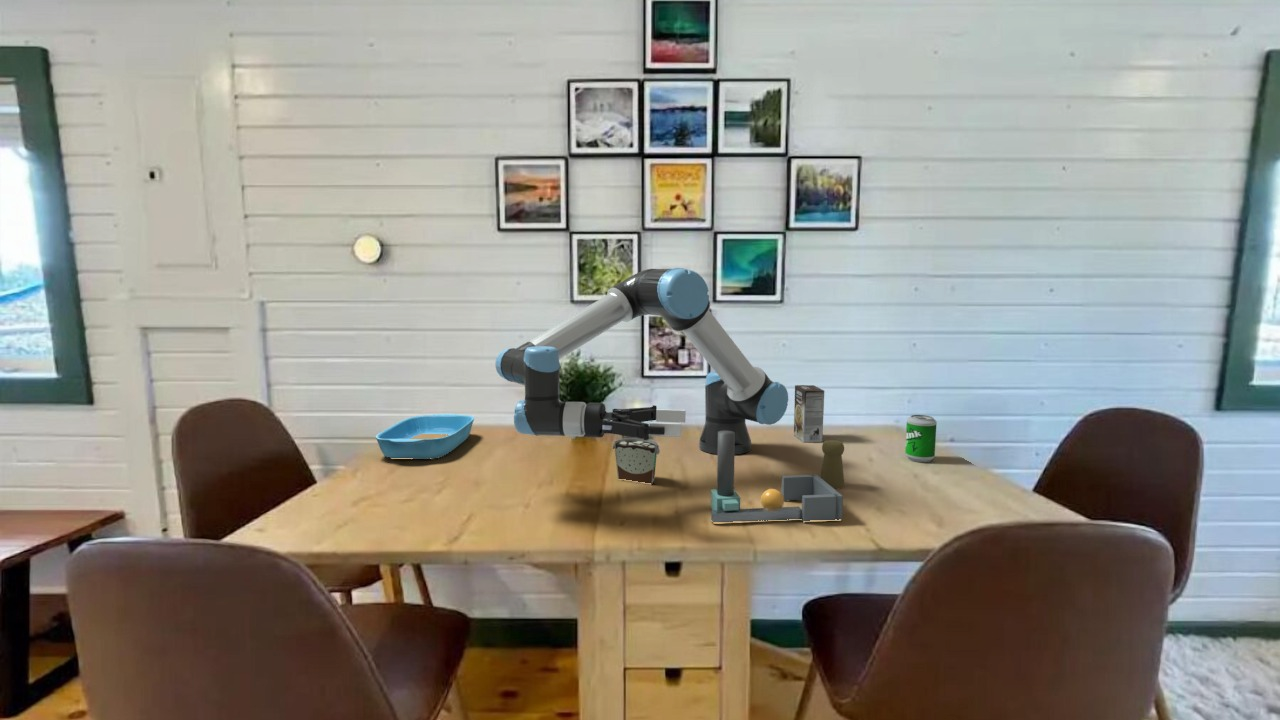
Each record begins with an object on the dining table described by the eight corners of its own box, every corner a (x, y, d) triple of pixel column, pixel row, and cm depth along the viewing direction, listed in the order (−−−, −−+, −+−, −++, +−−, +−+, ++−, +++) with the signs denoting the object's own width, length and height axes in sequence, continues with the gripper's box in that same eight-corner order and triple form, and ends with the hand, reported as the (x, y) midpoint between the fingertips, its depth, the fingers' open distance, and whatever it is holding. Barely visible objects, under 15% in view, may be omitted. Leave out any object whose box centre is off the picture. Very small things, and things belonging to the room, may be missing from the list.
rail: (713, 524, 142) (713, 513, 141) (711, 521, 144) (711, 510, 143) (801, 520, 144) (802, 509, 143) (798, 517, 146) (798, 506, 145)
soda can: (929, 456, 192) (931, 414, 190) (938, 463, 184) (940, 420, 183) (901, 455, 192) (903, 413, 191) (909, 463, 185) (911, 419, 183)
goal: (803, 523, 142) (804, 497, 141) (781, 498, 157) (781, 475, 156) (842, 521, 143) (842, 496, 142) (816, 497, 158) (816, 474, 157)
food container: (667, 478, 172) (667, 440, 171) (657, 486, 167) (657, 446, 165) (623, 472, 177) (623, 435, 176) (612, 479, 172) (612, 440, 170)
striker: (719, 521, 142) (720, 439, 140) (710, 507, 151) (711, 429, 148) (743, 520, 143) (744, 438, 140) (733, 506, 151) (734, 428, 149)
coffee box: (792, 435, 215) (794, 385, 213) (812, 434, 216) (814, 384, 214) (802, 442, 206) (804, 390, 204) (823, 442, 207) (825, 389, 205)
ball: (757, 513, 148) (758, 491, 147) (764, 506, 152) (764, 484, 152) (780, 517, 146) (780, 494, 145) (786, 509, 150) (787, 487, 149)
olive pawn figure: (815, 481, 170) (816, 438, 168) (839, 480, 170) (840, 437, 169) (824, 489, 164) (825, 444, 162) (848, 488, 164) (850, 443, 163)
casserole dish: (414, 433, 222) (413, 411, 221) (482, 433, 221) (481, 411, 220) (364, 466, 185) (363, 440, 184) (445, 466, 184) (444, 440, 183)
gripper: (596, 423, 161) (686, 426, 159) (573, 451, 137) (679, 455, 134) (596, 392, 160) (687, 395, 158) (573, 414, 136) (679, 418, 133)
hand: (683, 422), depth 146 cm, fingers open, 13 cm apart
